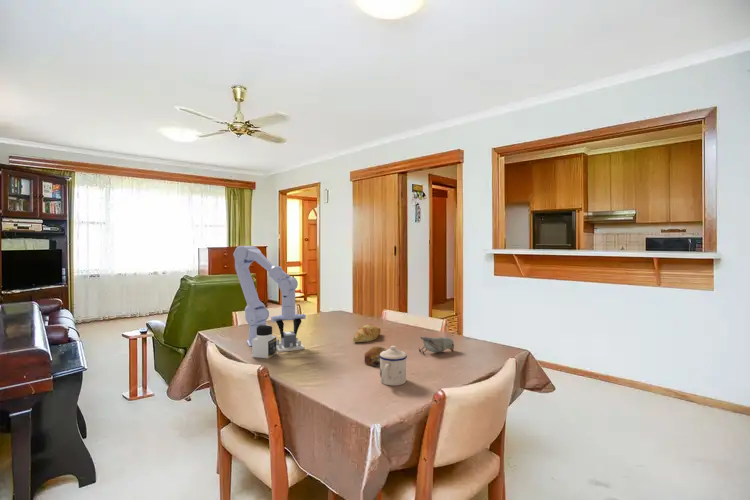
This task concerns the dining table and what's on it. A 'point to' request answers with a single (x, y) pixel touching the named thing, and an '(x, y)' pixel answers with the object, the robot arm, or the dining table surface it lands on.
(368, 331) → the croissant
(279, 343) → the white peg board
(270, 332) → the medicine bottle
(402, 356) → the teacup with lid
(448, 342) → the decorative bird
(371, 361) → the bread roll
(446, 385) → the dining table surface
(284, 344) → the block
